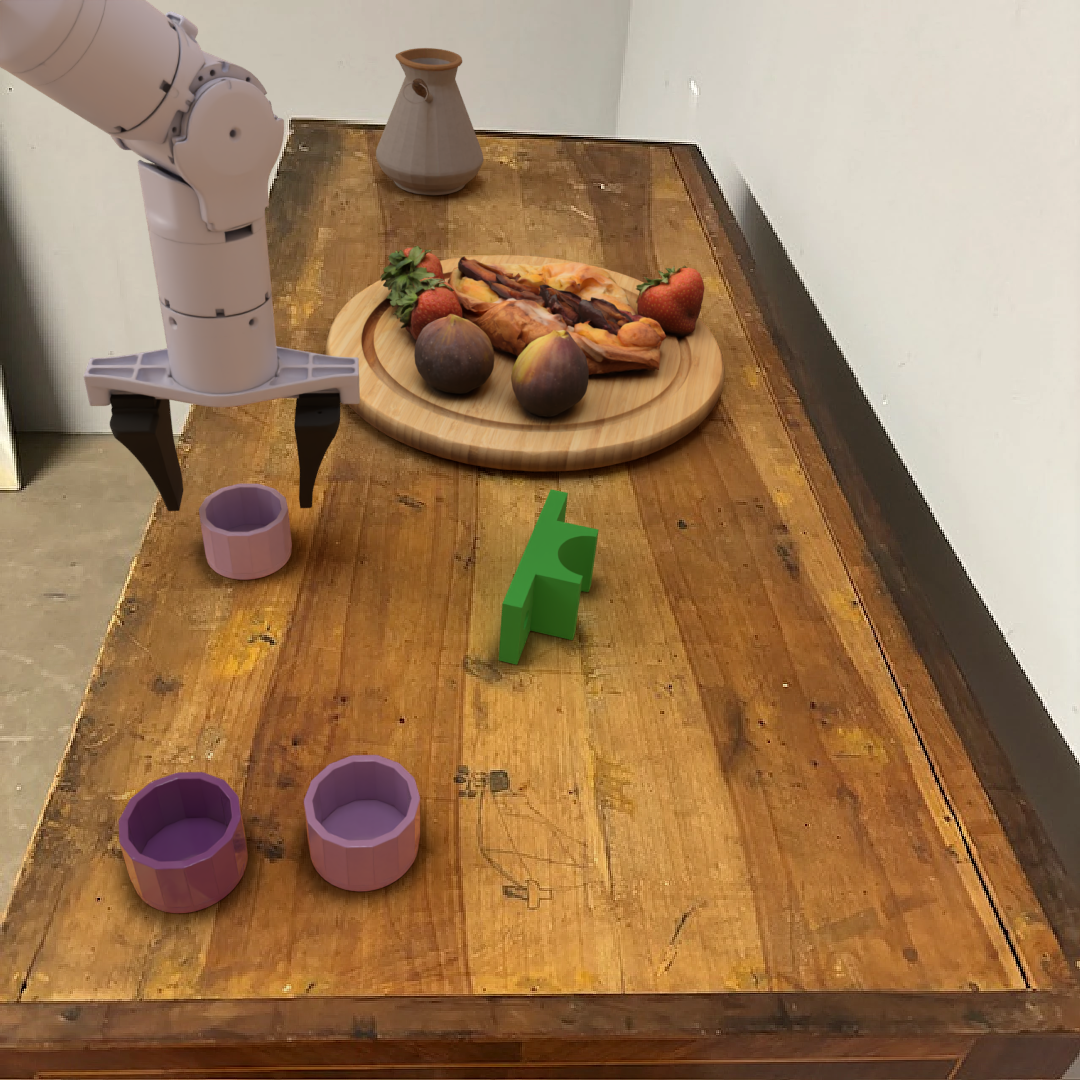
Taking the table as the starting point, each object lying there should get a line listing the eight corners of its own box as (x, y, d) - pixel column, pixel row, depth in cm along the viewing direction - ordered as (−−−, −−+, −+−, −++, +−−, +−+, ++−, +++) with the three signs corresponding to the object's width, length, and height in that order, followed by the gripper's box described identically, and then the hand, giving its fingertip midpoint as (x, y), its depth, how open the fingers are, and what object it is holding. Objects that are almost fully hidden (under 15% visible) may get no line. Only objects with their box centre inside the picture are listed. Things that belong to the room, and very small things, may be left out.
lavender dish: (209, 586, 65) (202, 541, 63) (203, 532, 69) (196, 488, 67) (297, 573, 67) (292, 529, 64) (285, 521, 70) (281, 478, 68)
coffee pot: (383, 158, 121) (380, 14, 112) (485, 166, 122) (491, 23, 112) (355, 237, 105) (349, 76, 95) (474, 246, 105) (479, 86, 96)
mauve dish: (318, 904, 49) (314, 859, 47) (302, 811, 53) (297, 765, 51) (430, 878, 51) (430, 834, 49) (406, 789, 55) (405, 744, 52)
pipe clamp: (561, 676, 62) (567, 618, 59) (498, 662, 62) (501, 603, 59) (601, 555, 70) (608, 499, 67) (545, 543, 71) (550, 487, 68)
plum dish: (133, 926, 48) (119, 881, 46) (130, 829, 52) (117, 783, 50) (253, 899, 49) (245, 854, 47) (241, 806, 53) (234, 761, 51)
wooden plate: (683, 282, 102) (697, 197, 97) (761, 483, 78) (786, 383, 72) (341, 271, 99) (336, 183, 94) (309, 477, 74) (300, 372, 69)
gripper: (355, 261, 61) (362, 459, 69) (84, 257, 59) (126, 463, 67) (356, 321, 55) (363, 528, 64) (57, 319, 53) (106, 534, 62)
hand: (241, 499), depth 65 cm, fingers open, 7 cm apart
